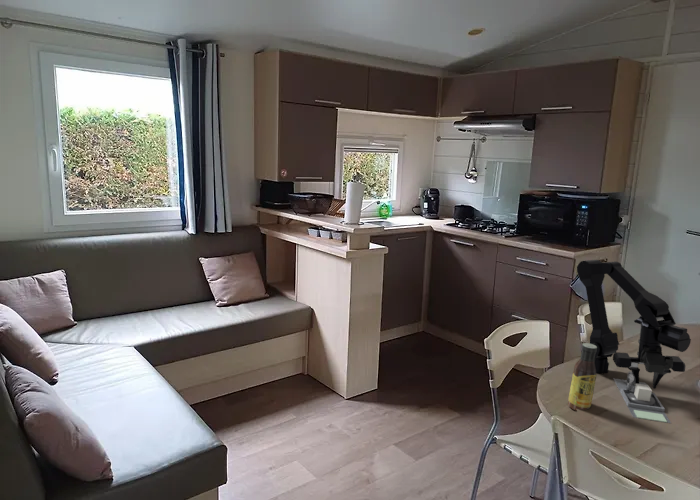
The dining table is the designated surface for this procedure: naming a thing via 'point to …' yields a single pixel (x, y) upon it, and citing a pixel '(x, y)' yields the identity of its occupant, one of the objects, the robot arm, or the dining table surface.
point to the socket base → (642, 410)
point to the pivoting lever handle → (630, 382)
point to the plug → (642, 395)
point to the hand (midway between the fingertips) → (645, 387)
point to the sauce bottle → (583, 379)
